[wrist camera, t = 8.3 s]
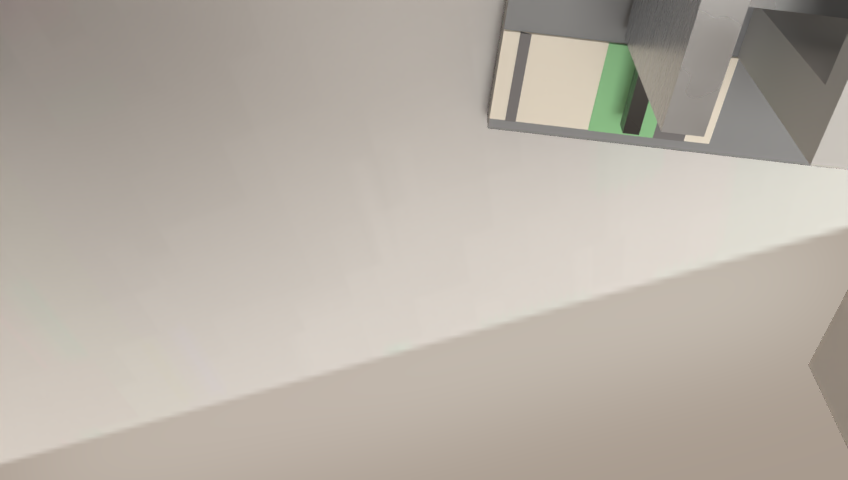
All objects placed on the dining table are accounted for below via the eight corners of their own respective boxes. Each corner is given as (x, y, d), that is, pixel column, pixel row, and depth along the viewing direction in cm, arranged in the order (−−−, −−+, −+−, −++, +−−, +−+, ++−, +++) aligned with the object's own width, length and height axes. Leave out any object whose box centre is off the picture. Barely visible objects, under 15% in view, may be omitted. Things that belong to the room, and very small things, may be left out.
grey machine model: (603, 119, 30) (632, 226, 24) (681, -187, 24) (744, -142, 18) (884, 152, 30) (979, 266, 24) (1031, -144, 24) (1203, -87, 18)
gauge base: (487, 114, 32) (489, 245, 25) (555, -307, 24) (589, -296, 17) (820, 153, 32) (920, 294, 25) (999, -252, 24) (1224, -218, 17)
